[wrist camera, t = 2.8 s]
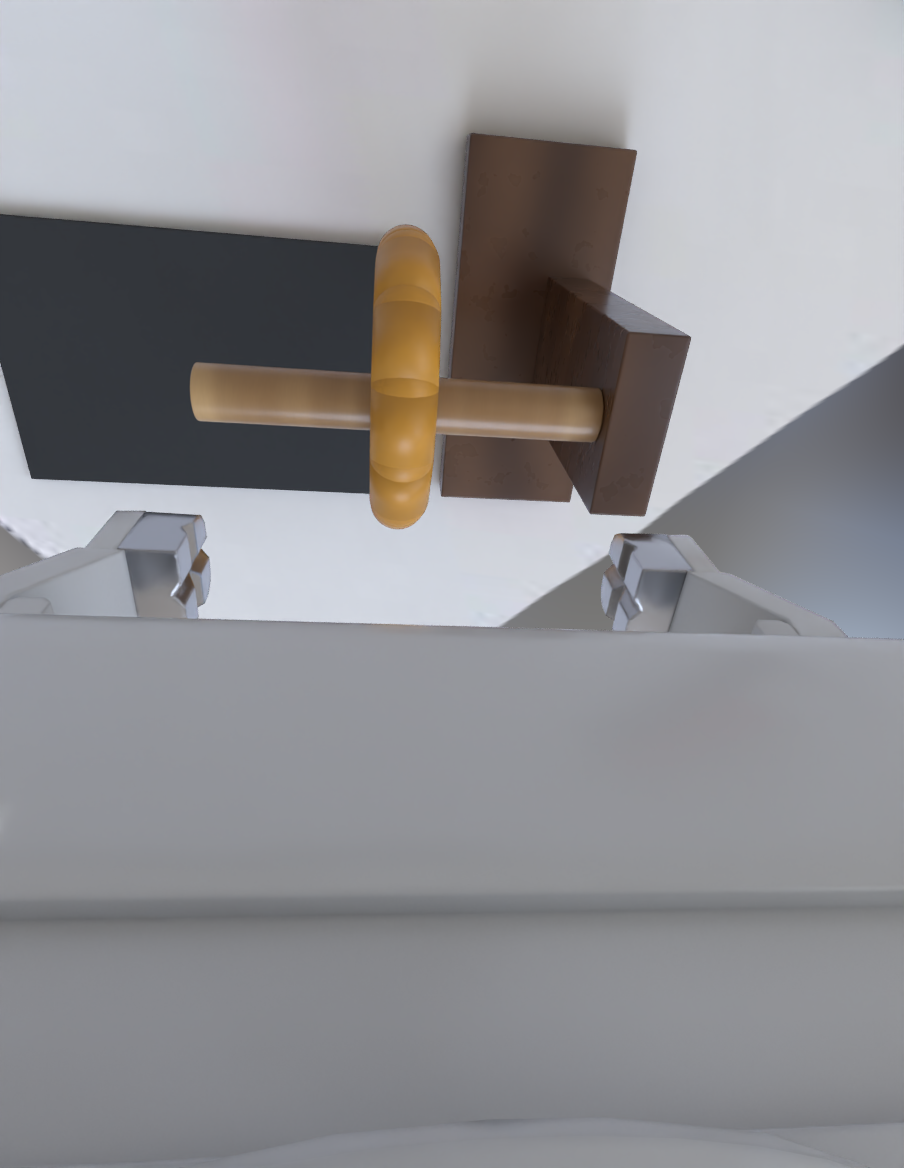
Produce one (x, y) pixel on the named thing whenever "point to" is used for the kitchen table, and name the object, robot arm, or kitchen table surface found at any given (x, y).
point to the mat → (175, 350)
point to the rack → (517, 343)
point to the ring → (404, 375)
